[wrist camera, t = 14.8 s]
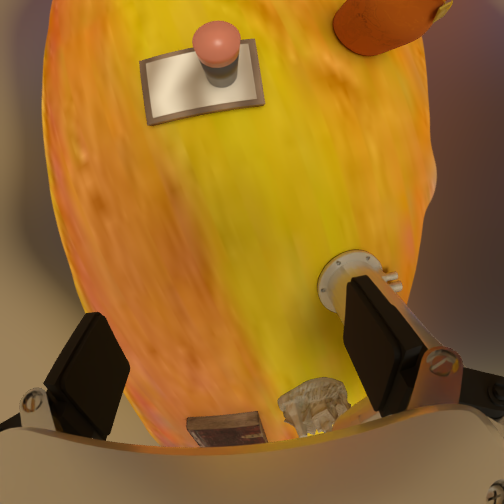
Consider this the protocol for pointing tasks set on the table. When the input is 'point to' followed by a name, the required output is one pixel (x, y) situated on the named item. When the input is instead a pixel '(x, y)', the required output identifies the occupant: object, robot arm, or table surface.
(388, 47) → the wine bottle
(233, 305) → the table surface
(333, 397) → the miniature castle
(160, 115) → the picture frame
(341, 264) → the robot arm
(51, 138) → the table surface
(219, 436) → the hardback book
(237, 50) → the marker
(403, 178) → the table surface
